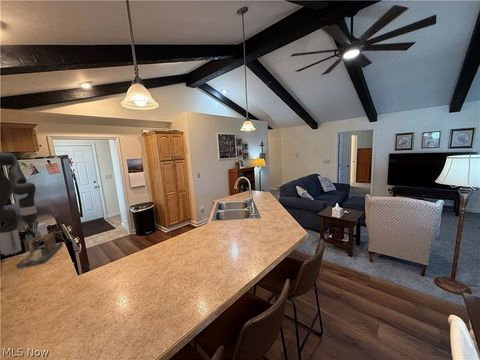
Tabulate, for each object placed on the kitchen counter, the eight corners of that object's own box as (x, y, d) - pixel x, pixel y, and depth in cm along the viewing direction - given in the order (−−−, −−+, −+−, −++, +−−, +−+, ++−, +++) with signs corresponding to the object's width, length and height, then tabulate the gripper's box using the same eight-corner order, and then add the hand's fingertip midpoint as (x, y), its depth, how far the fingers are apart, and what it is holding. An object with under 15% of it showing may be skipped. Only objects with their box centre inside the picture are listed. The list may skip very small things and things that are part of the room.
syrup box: (49, 238, 174) (46, 222, 171) (41, 241, 168) (38, 225, 166) (43, 238, 174) (40, 222, 172) (35, 241, 168) (32, 225, 166)
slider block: (23, 262, 130) (18, 237, 128) (28, 258, 136) (24, 234, 133) (37, 260, 133) (33, 235, 130) (42, 256, 138) (38, 232, 136)
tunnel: (17, 268, 129) (13, 247, 127) (40, 248, 155) (37, 231, 153) (44, 263, 135) (41, 243, 132) (63, 245, 160) (60, 228, 158)
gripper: (27, 211, 138) (31, 234, 141) (14, 216, 126) (19, 242, 129) (41, 209, 141) (45, 233, 144) (30, 215, 129) (35, 240, 131)
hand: (33, 237), depth 136 cm, fingers closed
